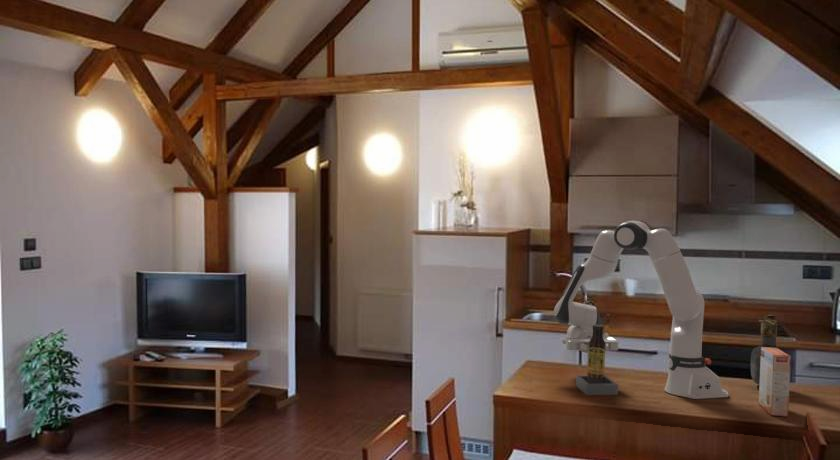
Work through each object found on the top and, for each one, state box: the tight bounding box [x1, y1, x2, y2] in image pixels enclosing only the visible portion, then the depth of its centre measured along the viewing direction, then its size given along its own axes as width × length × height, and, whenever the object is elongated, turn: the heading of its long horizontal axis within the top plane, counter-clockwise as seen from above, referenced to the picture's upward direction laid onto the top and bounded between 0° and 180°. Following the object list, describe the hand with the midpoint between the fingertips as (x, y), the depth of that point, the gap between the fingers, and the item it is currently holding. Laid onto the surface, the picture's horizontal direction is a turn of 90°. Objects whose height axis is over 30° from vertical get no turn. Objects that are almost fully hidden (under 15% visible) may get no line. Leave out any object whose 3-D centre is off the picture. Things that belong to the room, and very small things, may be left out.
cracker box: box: [758, 347, 792, 418], centre depth 234 cm, size 14×6×21 cm, turn 168°
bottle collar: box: [575, 375, 619, 396], centre depth 257 cm, size 12×13×4 cm
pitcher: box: [750, 311, 783, 391], centre depth 263 cm, size 11×19×30 cm, turn 163°
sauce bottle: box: [586, 324, 606, 379], centre depth 257 cm, size 6×6×20 cm
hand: (597, 348), depth 256 cm, fingers closed on sauce bottle, 6 cm apart
